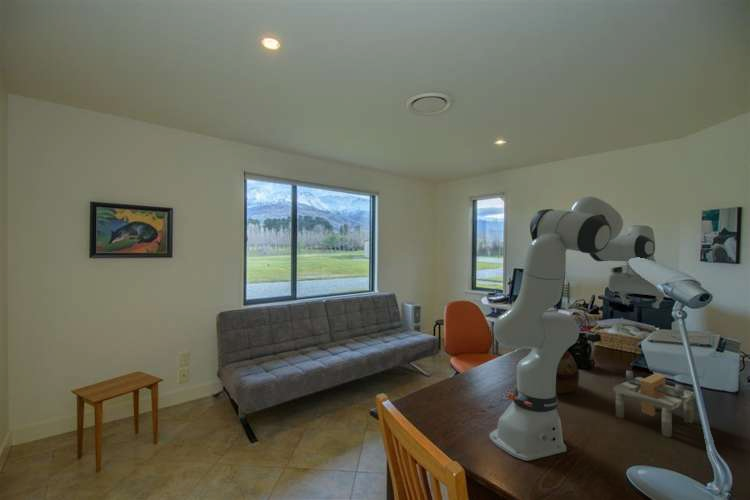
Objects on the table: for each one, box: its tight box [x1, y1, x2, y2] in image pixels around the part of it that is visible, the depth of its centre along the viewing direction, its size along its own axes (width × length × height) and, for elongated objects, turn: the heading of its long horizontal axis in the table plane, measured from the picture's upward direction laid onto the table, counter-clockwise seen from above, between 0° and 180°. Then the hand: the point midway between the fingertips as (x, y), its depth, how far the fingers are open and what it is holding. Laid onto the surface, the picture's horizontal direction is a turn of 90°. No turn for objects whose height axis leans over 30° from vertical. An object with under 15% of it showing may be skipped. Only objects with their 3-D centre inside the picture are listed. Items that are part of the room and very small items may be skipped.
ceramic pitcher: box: [556, 350, 580, 394], centre depth 138 cm, size 20×20×30 cm
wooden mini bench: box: [640, 373, 667, 417], centre depth 111 cm, size 10×3×11 cm, turn 118°
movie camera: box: [567, 330, 602, 370], centre depth 168 cm, size 31×18×18 cm, turn 39°
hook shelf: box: [613, 370, 696, 438], centre depth 111 cm, size 18×16×14 cm
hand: (640, 306), depth 121 cm, fingers open, 8 cm apart
